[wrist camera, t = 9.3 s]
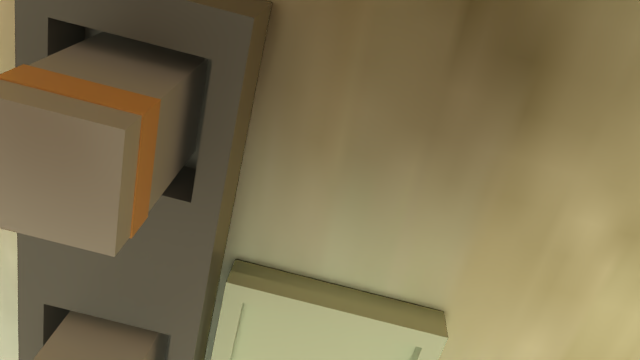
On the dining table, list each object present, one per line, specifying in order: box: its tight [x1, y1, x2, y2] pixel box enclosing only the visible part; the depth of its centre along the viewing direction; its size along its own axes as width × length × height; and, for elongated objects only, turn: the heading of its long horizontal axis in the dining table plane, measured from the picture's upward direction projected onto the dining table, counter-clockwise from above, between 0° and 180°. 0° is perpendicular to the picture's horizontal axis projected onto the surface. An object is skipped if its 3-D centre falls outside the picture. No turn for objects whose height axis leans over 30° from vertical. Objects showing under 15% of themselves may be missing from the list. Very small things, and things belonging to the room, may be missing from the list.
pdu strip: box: [0, 0, 272, 360], centre depth 20 cm, size 7×20×8 cm, turn 167°
